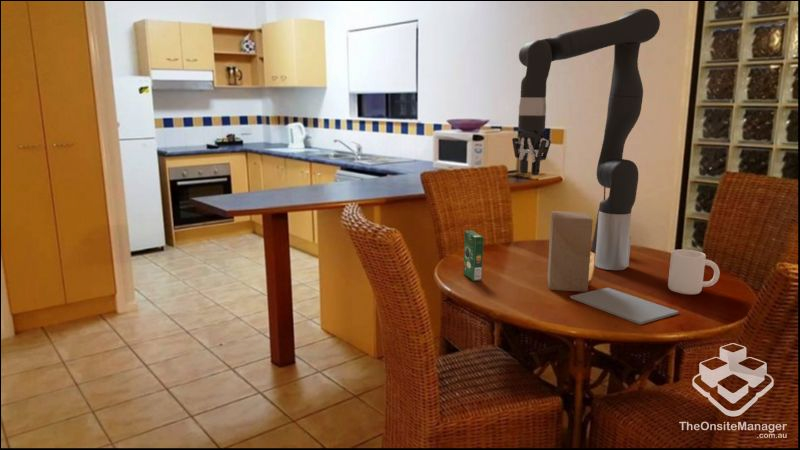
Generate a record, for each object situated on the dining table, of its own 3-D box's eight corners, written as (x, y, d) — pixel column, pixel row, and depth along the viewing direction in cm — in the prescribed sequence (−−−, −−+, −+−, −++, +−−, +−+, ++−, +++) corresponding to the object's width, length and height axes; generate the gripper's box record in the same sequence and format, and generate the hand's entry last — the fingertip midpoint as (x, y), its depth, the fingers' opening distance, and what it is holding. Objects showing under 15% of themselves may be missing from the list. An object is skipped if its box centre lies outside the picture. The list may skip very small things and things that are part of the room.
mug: (715, 289, 156) (720, 252, 154) (718, 298, 148) (723, 260, 146) (667, 283, 160) (671, 248, 158) (667, 292, 153) (671, 255, 151)
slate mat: (607, 289, 155) (607, 287, 155) (678, 313, 137) (678, 311, 137) (570, 298, 148) (570, 295, 148) (640, 324, 131) (640, 322, 130)
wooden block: (587, 292, 153) (593, 219, 149) (548, 290, 155) (553, 217, 151) (583, 281, 162) (588, 212, 158) (547, 279, 164) (551, 210, 160)
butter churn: (618, 256, 190) (625, 171, 184) (588, 254, 191) (594, 170, 186) (613, 249, 199) (619, 168, 193) (584, 248, 200) (590, 167, 194)
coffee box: (482, 281, 162) (484, 236, 160) (473, 282, 161) (474, 236, 159) (471, 273, 170) (473, 230, 167) (462, 274, 169) (463, 230, 166)
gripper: (560, 114, 159) (556, 176, 163) (525, 113, 171) (522, 171, 175) (540, 114, 155) (536, 177, 159) (505, 113, 168) (503, 172, 171)
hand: (529, 173), depth 167 cm, fingers open, 4 cm apart
